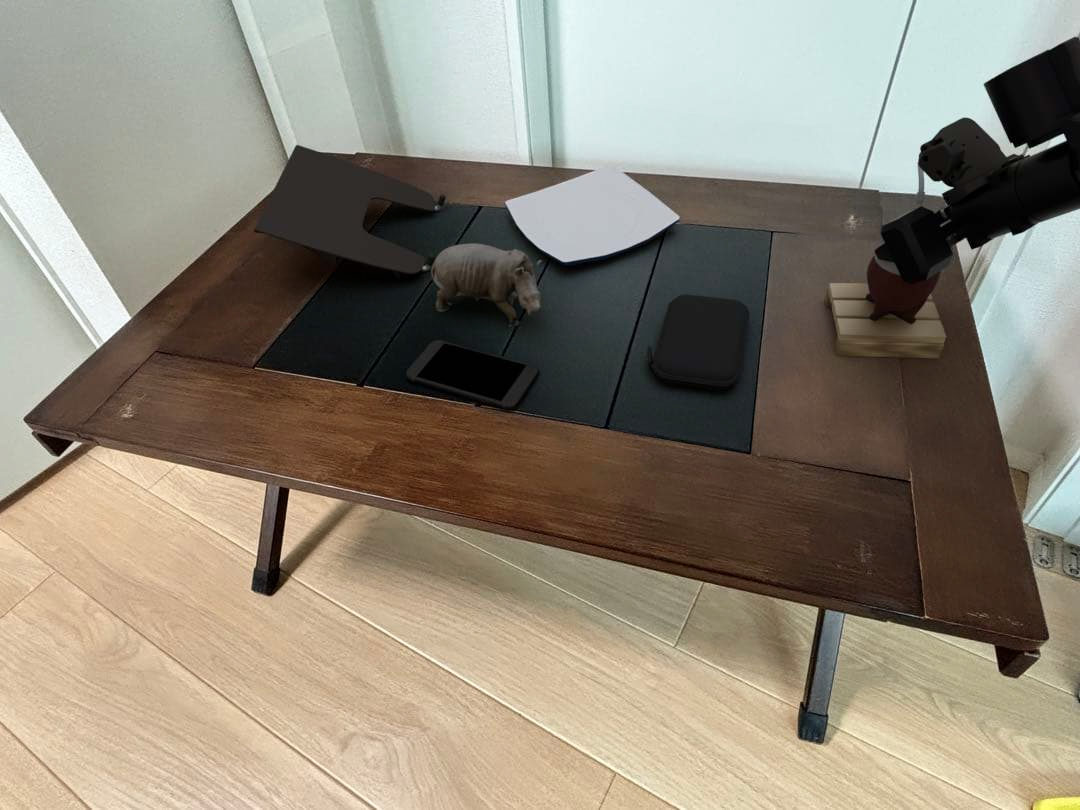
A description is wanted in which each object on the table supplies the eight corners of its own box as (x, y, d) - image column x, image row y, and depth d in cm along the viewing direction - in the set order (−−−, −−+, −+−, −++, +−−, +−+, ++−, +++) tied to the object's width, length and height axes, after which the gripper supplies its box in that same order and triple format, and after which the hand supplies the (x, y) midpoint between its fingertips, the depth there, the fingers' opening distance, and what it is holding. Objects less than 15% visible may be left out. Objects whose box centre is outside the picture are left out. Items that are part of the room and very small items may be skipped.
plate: (689, 235, 101) (691, 218, 99) (562, 285, 95) (560, 268, 93) (614, 175, 114) (613, 159, 112) (498, 216, 108) (495, 200, 106)
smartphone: (434, 341, 89) (433, 335, 89) (542, 370, 84) (542, 364, 83) (402, 380, 85) (400, 375, 84) (514, 414, 80) (513, 408, 79)
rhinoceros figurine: (443, 258, 97) (480, 193, 85) (523, 319, 99) (571, 265, 87) (412, 295, 94) (446, 233, 81) (495, 359, 95) (542, 308, 83)
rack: (919, 302, 87) (926, 282, 85) (938, 358, 80) (947, 338, 78) (824, 300, 88) (829, 281, 86) (835, 355, 82) (840, 335, 80)
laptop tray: (415, 321, 102) (433, 271, 96) (248, 272, 96) (255, 216, 90) (432, 231, 118) (448, 183, 112) (289, 184, 112) (298, 131, 106)
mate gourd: (895, 336, 78) (942, 211, 67) (837, 302, 83) (873, 180, 72) (939, 312, 80) (990, 188, 70) (880, 280, 85) (920, 160, 75)
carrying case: (662, 304, 91) (639, 385, 81) (663, 285, 88) (639, 365, 79) (749, 314, 88) (735, 399, 78) (752, 295, 86) (738, 379, 76)
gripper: (1062, 71, 65) (919, 146, 79) (929, 140, 59) (801, 207, 73) (1111, 182, 66) (961, 236, 80) (986, 262, 59) (848, 305, 74)
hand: (895, 243), depth 77 cm, fingers closed on mate gourd, 5 cm apart
